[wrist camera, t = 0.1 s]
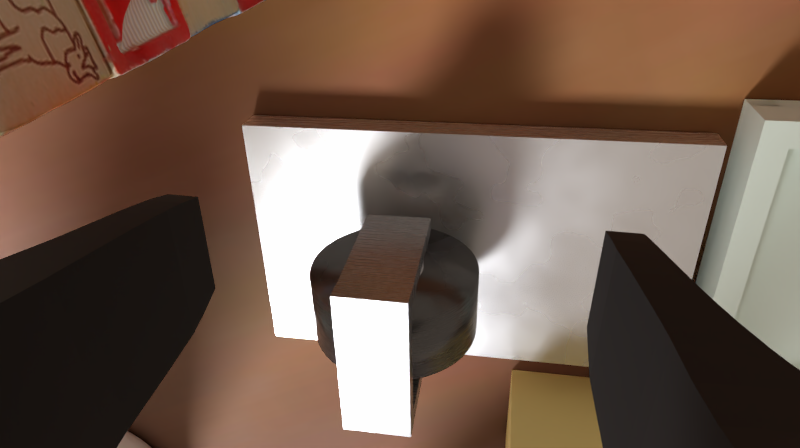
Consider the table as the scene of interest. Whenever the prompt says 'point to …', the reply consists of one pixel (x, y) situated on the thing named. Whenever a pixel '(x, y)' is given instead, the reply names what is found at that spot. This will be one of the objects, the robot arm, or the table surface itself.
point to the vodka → (132, 442)
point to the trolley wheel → (456, 239)
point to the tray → (760, 228)
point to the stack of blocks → (88, 45)
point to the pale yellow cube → (551, 412)
